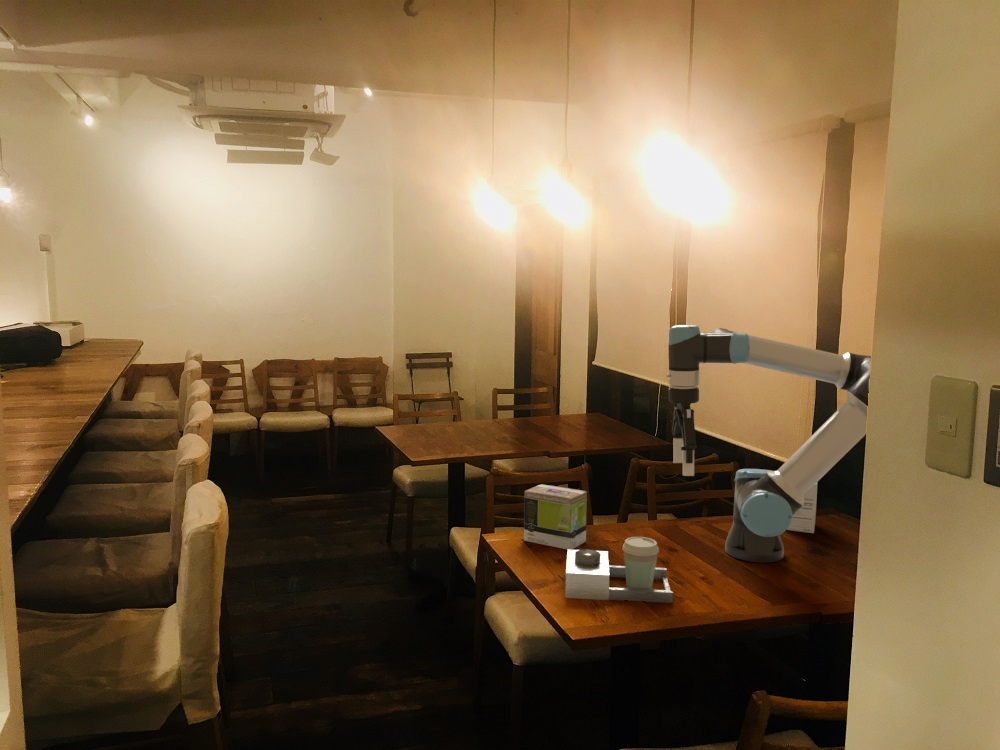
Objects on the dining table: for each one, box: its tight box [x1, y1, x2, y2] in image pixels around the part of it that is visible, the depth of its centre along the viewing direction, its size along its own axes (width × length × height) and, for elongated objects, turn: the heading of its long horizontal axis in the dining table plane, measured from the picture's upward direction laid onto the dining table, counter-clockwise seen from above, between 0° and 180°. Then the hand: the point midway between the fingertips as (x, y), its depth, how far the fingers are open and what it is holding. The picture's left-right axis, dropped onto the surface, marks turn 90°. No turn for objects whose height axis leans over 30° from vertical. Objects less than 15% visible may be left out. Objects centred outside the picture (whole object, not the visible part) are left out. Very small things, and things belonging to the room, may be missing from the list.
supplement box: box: [787, 482, 818, 534], centre depth 240 cm, size 9×9×15 cm
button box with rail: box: [564, 548, 674, 604], centre depth 193 cm, size 24×16×8 cm, turn 84°
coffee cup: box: [621, 536, 660, 590], centre depth 191 cm, size 8×9×12 cm
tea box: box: [523, 483, 588, 550], centre depth 224 cm, size 15×10×15 cm
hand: (683, 469), depth 205 cm, fingers open, 13 cm apart
